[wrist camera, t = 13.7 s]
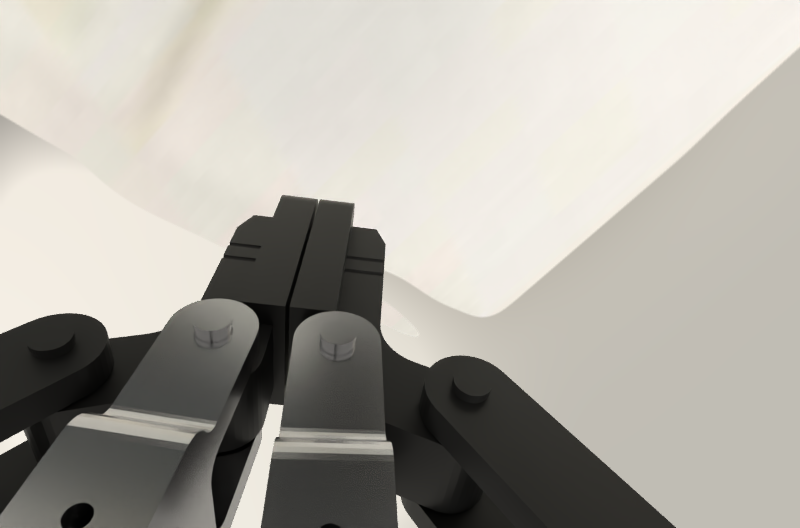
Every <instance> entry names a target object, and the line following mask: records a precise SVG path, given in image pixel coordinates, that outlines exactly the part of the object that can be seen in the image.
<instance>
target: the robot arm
mask: <svg viewBox="0 0 800 528" xmlns="http://www.w3.org/2000/svg"><path fill="white" fill-rule="evenodd" d="M353 217H354V203H346V202H337V201H329V200H320V201H319V204H318V199H312V198H303V197H295V196H287V195H282V197H281V199H280V201H279V204H278V206H277V209H276V211H275V214H274V216H273V217H265V216H257V215H254V216H253V217H251V218H250V219H248V220H247V221H245V222H244V223H243V224H241V225H240V226H238V227H237V229H236V231H235V233H234V235H233V237H232V239H231V241H230V245H228V247H227V249H226V251H225V253H224V258H222V259H221V261H220V263H219V265H218V267H217V270H216V271H215V273H214V276H213V277H212V279H211V281H210V283H209V285H208V287H207V289H206V291H205V293H204V295H203V297H202V299H201V301H197V302H194V303H191V304H189V305H187V306H185V307H183V308H182V309H180V310H179V311H177V312H176V313H175V314H174V315H173V316H172V317H171V318H170V320H169V321H168V323H167V324H166V325H165V327H164V329H163V330H162V331H159V332H155V333H150V334H144V335H135V336H128V337H119V338H111V339H109V338H108V334H107V331H106V328H105V327H104V325H103V324H102V323H101V322H99V321H98V320H97V319H95V318H92V317H90V316H86V315H82V314H72V313H66V314H56V315H50V316H46V317H43V318H39V319H36V320H33V321H31V322H28V323H26V324H23V325H21V326H19V327H16V328H14V329H11V330H9V331H7V332H5V333H2V334H0V442H2V441H4V440H5V439H8V438H9V437H11V436H13V435H15V434H17V433H19V432H20V431H22V430H24V432H25V435H26V437H27V439H28V440H27V441H25V442H23V443H21V444H20V445H18V446H16V447H14V448H12V449H11V450H9V451H7V452H5V453H3V454H1V455H0V528H230V527H231V524H232V521H233V519H234V516H235V513H236V510H237V508H238V505H239V502H240V499H241V496H242V494H243V491H244V488H245V485H246V482H247V480H248V477H249V474H250V471H251V468H252V466H253V463H254V460H255V457H256V454H257V452H258V449H259V446H260V443H261V438H262V427H263V424H264V421H265V418H266V414H267V410H268V406H269V404H278V405H284V406H283V413H282V420H281V427H280V434H279V437H276V439H275V442H274V446H273V453H272V458H271V464H270V471H269V478H268V484H267V491H266V497H265V504H264V511H263V518H262V524H261V528H398V522H397V504H396V495H399V496H401V500H402V503H403V505H404V508H405V510H406V511H407V513H408V514H409V516H410V517H411V519H412V520H413V521H414V522H415V524H416V525H417V526H418V528H676V527H674V526H673V525H672V524H671V523H670V522H669V521H668V520H667V519H666V518H665V517H664V516H662V515H661V514H660V513H659V512H658V511H657V510H656V509H655V508H654V507H652V506H651V505H650V504H649V503H648V502H647V501H646V500H645V499H644V498H642V497H641V496H640V495H639V494H638V493H637V492H636V491H635V490H633V489H632V488H631V487H630V486H629V485H628V484H627V483H626V482H625V481H623V480H622V479H621V478H620V477H619V476H618V475H617V474H616V473H615V472H613V471H612V470H611V469H610V468H609V467H608V466H607V465H606V464H605V463H603V462H602V461H601V460H600V459H599V458H598V457H597V456H596V455H595V454H593V453H592V452H591V451H590V450H589V449H588V448H586V446H585V445H583V444H582V443H581V442H580V441H579V440H578V439H577V438H576V437H574V436H573V435H572V434H571V433H570V432H569V431H568V430H567V429H565V428H564V427H563V426H562V425H561V424H560V423H559V422H558V421H557V420H555V419H554V418H553V417H552V416H551V415H550V414H549V413H548V412H547V411H545V410H544V409H543V408H542V407H541V406H540V405H539V404H538V403H537V402H536V401H534V400H533V399H532V398H531V397H530V396H529V395H528V394H527V393H525V392H524V391H523V390H522V389H521V388H520V387H519V386H518V385H516V383H514V382H513V381H512V380H511V379H510V378H509V377H508V376H507V375H505V374H504V373H503V372H502V371H501V370H500V369H498V368H497V367H496V366H494V365H492V364H491V363H489V362H486V361H484V360H482V359H479V358H475V357H470V356H451V357H447V358H444V359H441V360H439V361H438V362H436V363H435V364H434V365H432V366H431V367H430V368H429V367H426V366H423V365H420V364H418V363H415V362H413V361H410V360H408V359H406V358H404V357H402V356H401V355H399V354H398V353H396V352H395V351H393V350H392V348H390V346H389V345H388V344H387V343H386V341H385V340H384V338H383V336H382V333H381V330H380V321H381V306H382V290H383V274H384V259H385V243H384V241H383V239H382V238H381V236H380V235H379V233H378V231H377V230H376V229H368V228H359V227H353Z"/></svg>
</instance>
